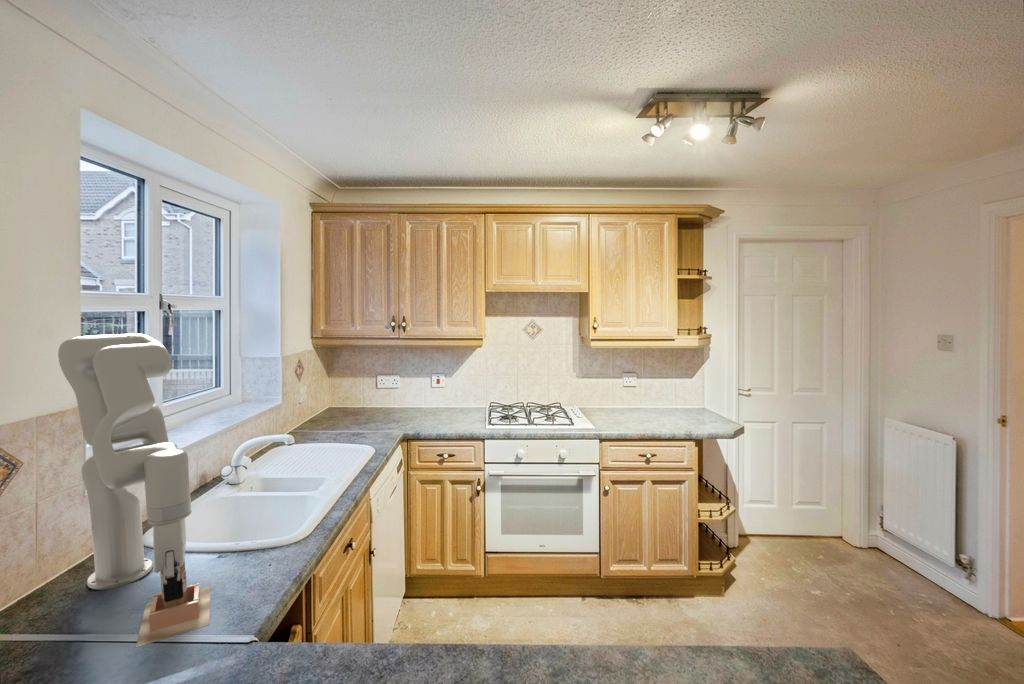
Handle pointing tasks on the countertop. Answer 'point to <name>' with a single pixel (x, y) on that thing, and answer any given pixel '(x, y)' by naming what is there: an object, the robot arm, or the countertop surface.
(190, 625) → the stand board
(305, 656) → the countertop surface
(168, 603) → the sprinkles bottle
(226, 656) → the countertop surface
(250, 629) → the countertop surface
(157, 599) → the collar
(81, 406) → the robot arm
